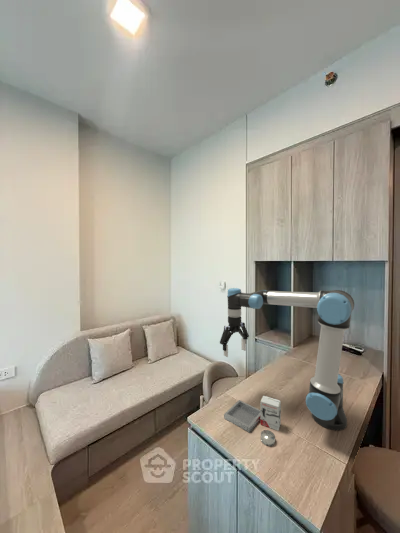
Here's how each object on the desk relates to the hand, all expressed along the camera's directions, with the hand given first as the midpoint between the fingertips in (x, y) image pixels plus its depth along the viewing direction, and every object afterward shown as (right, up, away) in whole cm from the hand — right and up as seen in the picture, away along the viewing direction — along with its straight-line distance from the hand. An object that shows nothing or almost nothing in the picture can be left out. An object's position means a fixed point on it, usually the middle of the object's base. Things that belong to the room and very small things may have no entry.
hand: (235, 352), depth 127 cm
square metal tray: (+2, -26, -15) cm, 30 cm away
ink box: (+14, -26, -20) cm, 36 cm away
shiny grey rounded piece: (+10, -27, -29) cm, 41 cm away
